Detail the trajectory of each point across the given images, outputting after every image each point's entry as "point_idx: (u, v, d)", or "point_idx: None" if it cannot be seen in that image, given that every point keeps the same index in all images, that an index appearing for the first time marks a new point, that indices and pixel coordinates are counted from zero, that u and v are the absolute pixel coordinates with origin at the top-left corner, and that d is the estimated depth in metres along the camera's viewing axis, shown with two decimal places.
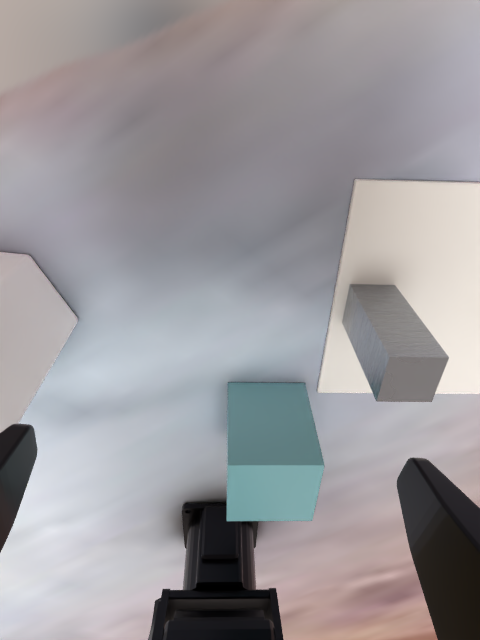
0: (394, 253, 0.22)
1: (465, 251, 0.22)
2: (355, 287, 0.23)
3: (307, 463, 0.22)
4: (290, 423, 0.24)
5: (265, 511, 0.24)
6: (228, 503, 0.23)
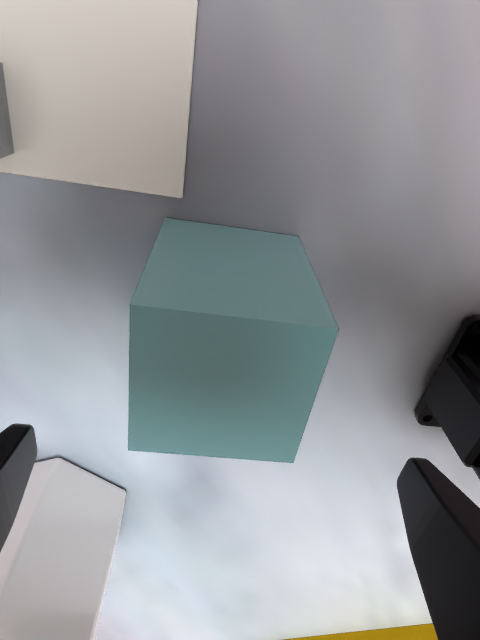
0: None
1: None
2: None
3: None
4: None
5: (277, 408, 0.12)
6: (238, 456, 0.13)
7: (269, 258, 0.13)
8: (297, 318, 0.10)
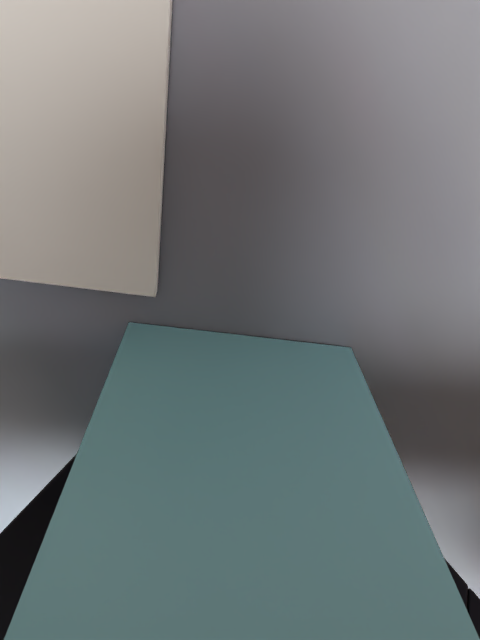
0: None
1: None
2: None
3: None
4: None
5: None
6: None
7: (313, 425, 0.07)
8: None
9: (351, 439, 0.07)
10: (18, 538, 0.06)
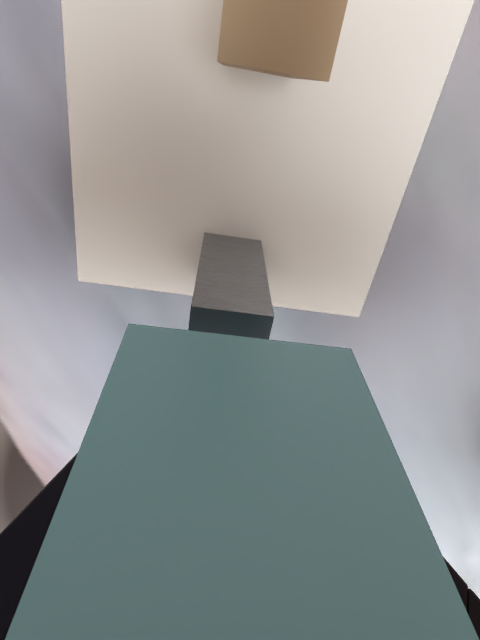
0: (161, 236, 0.18)
1: (160, 143, 0.16)
2: None
3: None
4: None
5: None
6: None
7: (313, 427, 0.07)
8: None
9: (351, 441, 0.07)
10: (18, 538, 0.06)
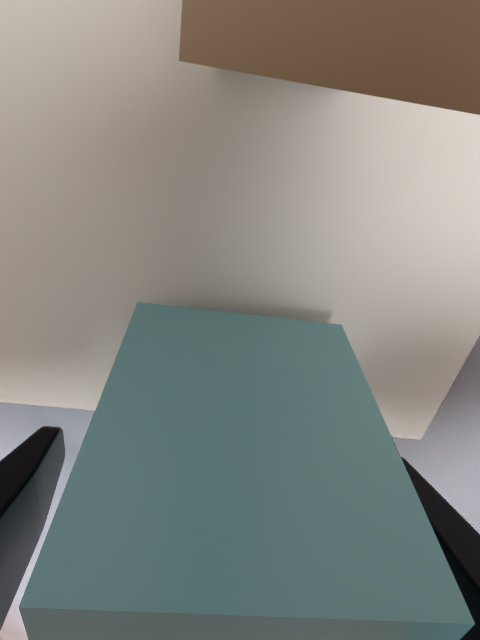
0: (118, 340, 0.11)
1: (107, 201, 0.09)
2: None
3: None
4: None
5: None
6: None
7: (305, 388, 0.08)
8: (384, 594, 0.05)
9: (339, 399, 0.08)
10: None
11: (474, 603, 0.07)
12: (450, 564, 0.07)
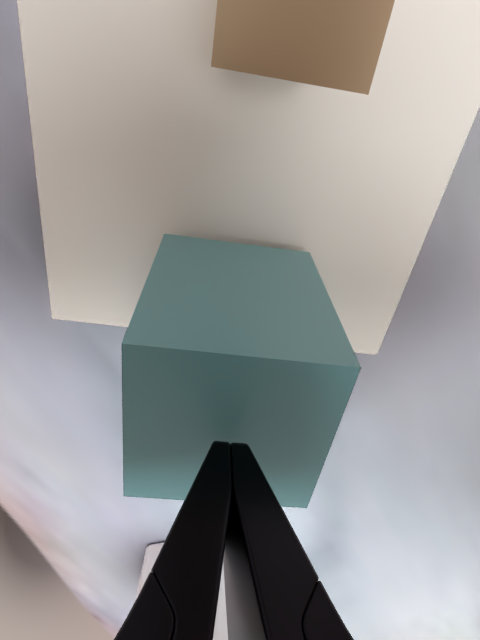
0: (148, 268, 0.15)
1: (144, 161, 0.13)
2: None
3: None
4: None
5: (290, 451, 0.10)
6: None
7: (279, 280, 0.12)
8: (313, 355, 0.09)
9: (301, 286, 0.12)
10: (183, 548, 0.07)
11: (251, 592, 0.06)
12: (243, 552, 0.07)
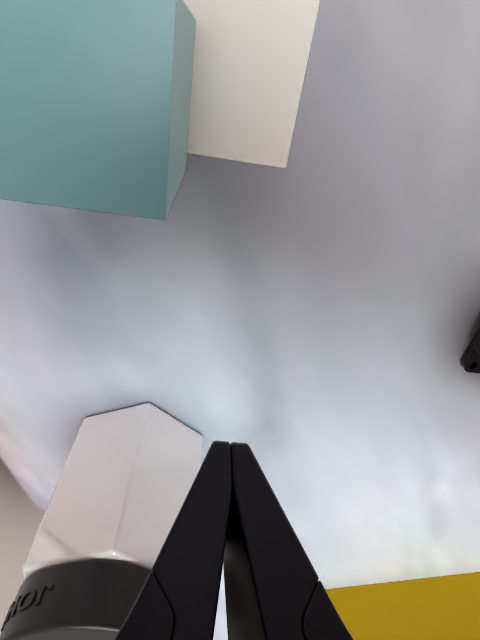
0: None
1: None
2: None
3: None
4: None
5: (130, 127, 0.10)
6: (101, 208, 0.11)
7: None
8: None
9: None
10: (183, 548, 0.07)
11: (251, 593, 0.06)
12: (243, 552, 0.07)
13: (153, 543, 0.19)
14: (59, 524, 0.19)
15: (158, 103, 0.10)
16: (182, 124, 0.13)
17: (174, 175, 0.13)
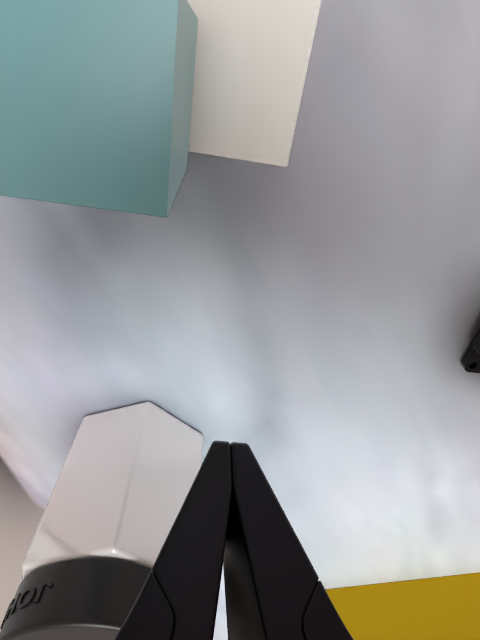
0: None
1: None
2: None
3: None
4: None
5: (132, 124, 0.10)
6: (102, 205, 0.11)
7: None
8: None
9: None
10: (183, 548, 0.07)
11: (251, 592, 0.06)
12: (243, 552, 0.07)
13: (153, 541, 0.19)
14: (59, 522, 0.19)
15: (160, 100, 0.10)
16: (183, 122, 0.13)
17: (175, 173, 0.13)
